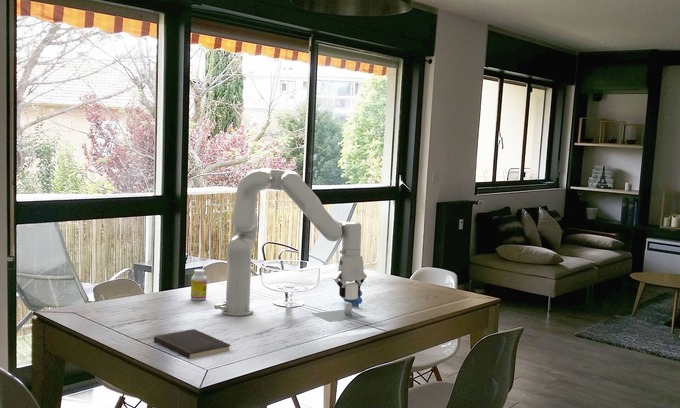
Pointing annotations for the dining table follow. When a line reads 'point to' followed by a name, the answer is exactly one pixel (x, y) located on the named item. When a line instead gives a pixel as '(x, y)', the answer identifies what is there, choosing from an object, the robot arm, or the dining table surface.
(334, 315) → the board
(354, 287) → the cap
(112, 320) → the dining table surface
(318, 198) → the robot arm
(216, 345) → the hardcover book
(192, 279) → the supplement bottle
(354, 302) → the grapes
